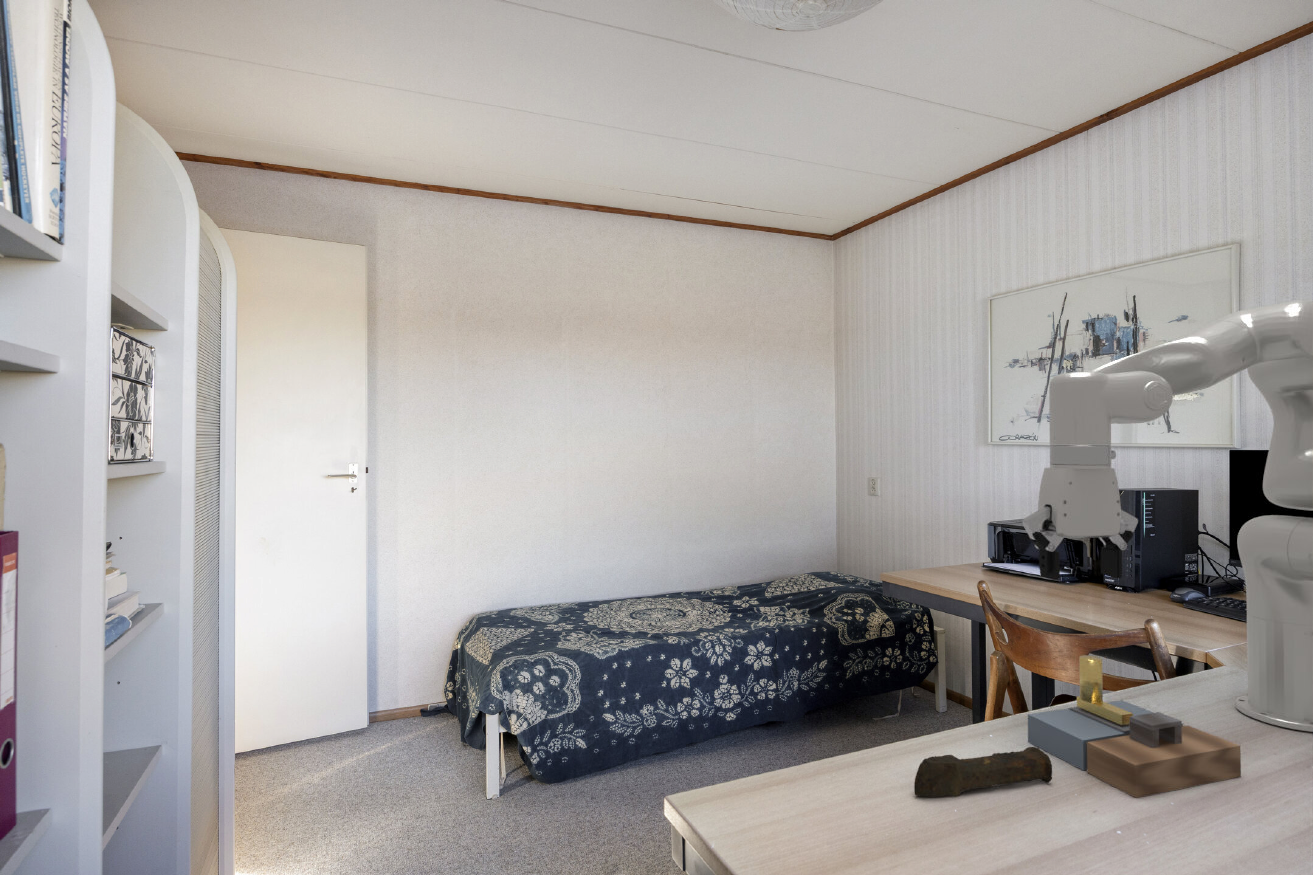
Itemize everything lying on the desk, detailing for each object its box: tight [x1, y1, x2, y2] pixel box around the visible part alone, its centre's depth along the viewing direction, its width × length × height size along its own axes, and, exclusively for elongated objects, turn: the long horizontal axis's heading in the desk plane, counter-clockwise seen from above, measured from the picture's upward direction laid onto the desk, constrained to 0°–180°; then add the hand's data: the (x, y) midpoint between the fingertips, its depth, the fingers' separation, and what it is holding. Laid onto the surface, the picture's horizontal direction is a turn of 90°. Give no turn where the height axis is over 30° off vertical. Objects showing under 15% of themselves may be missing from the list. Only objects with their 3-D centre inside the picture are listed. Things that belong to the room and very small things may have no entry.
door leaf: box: [1027, 699, 1184, 771], centre depth 96 cm, size 18×9×4 cm, turn 106°
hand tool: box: [913, 746, 1053, 799], centre depth 85 cm, size 19×4×5 cm, turn 102°
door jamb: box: [1086, 711, 1242, 799], centre depth 88 cm, size 18×7×7 cm, turn 106°
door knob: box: [1076, 654, 1133, 725], centre depth 96 cm, size 3×7×7 cm, turn 16°
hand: (1080, 577), depth 97 cm, fingers open, 9 cm apart
